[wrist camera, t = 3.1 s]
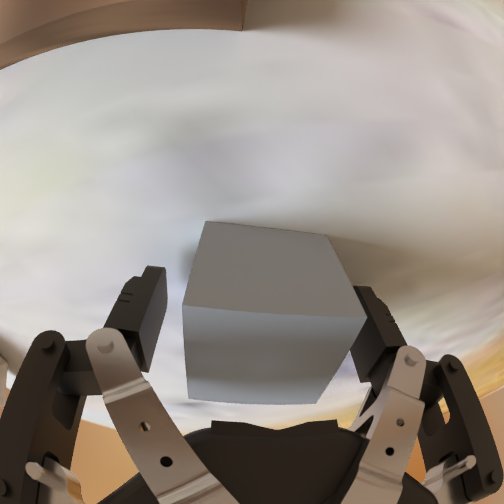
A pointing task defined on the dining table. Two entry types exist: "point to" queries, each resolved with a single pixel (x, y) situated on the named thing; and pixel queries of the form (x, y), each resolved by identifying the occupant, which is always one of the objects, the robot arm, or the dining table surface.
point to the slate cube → (266, 316)
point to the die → (3, 380)
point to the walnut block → (103, 21)
